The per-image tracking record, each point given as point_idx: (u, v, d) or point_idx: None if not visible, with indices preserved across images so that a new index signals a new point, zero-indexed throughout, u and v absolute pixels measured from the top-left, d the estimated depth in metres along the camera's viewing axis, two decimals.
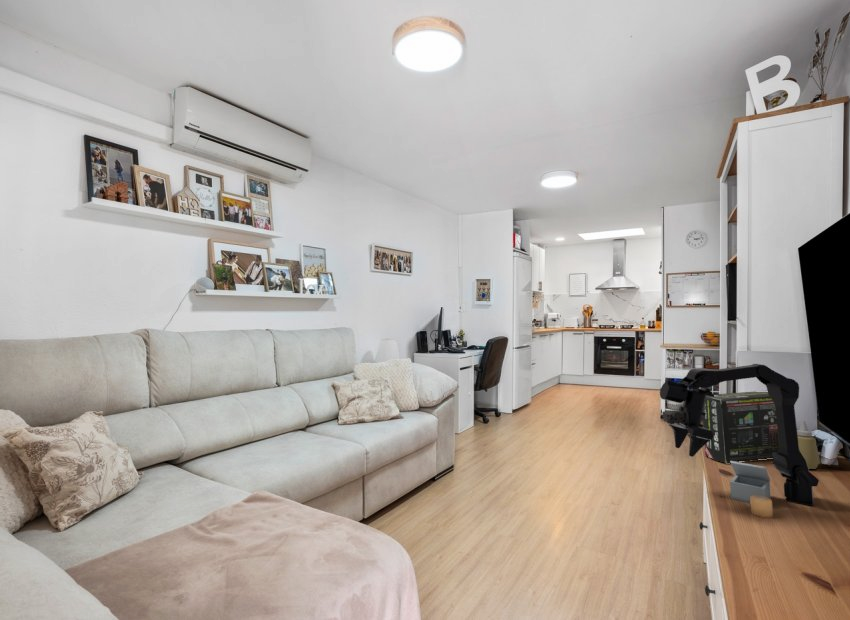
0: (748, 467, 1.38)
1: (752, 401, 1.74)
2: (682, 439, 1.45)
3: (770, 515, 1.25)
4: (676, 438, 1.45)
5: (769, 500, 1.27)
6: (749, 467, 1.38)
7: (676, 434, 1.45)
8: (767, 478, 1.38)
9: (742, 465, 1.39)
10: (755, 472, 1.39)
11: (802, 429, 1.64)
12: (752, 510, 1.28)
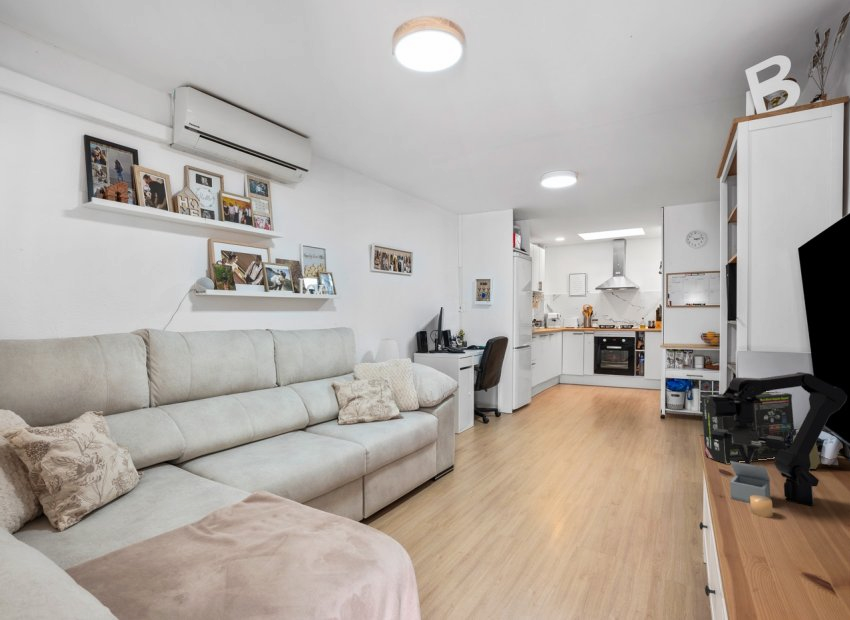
0: (748, 467, 1.38)
1: None
2: None
3: (770, 515, 1.25)
4: (745, 455, 1.38)
5: (769, 500, 1.27)
6: (749, 467, 1.38)
7: (744, 451, 1.38)
8: (767, 478, 1.38)
9: (742, 465, 1.39)
10: (755, 472, 1.39)
11: None
12: (752, 510, 1.28)
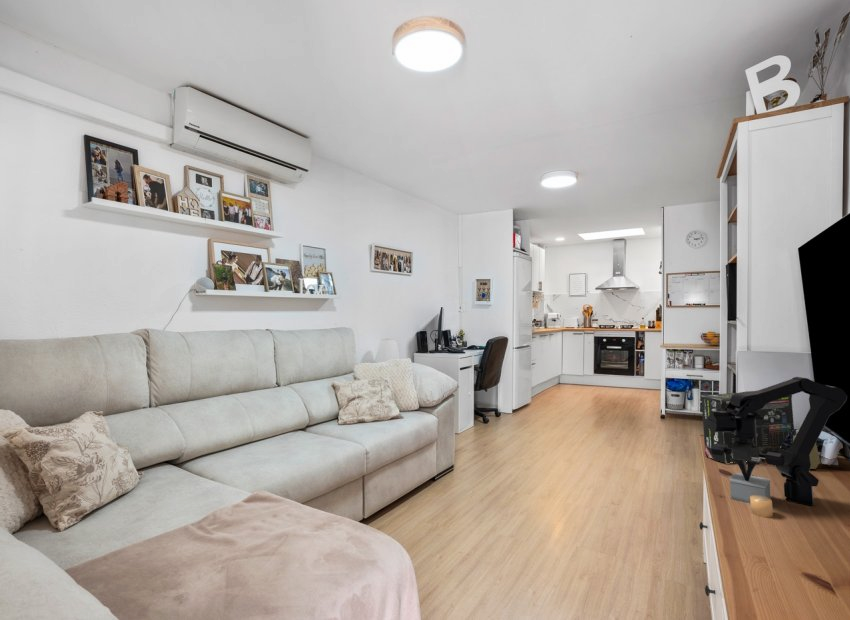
0: None
1: None
2: (746, 469, 1.39)
3: (770, 515, 1.25)
4: (745, 471, 1.38)
5: (769, 500, 1.27)
6: None
7: (744, 467, 1.38)
8: None
9: None
10: None
11: None
12: (752, 510, 1.28)
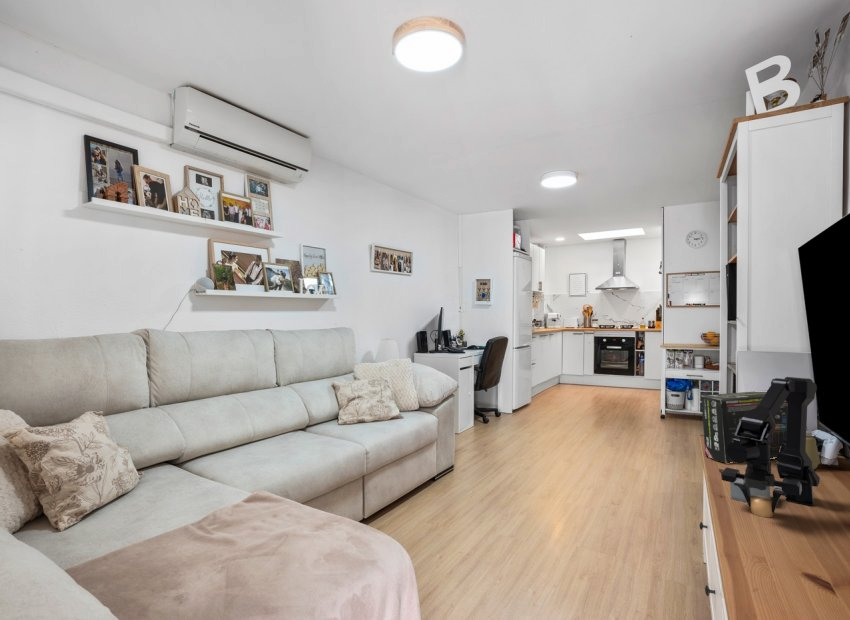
0: None
1: (752, 401, 1.74)
2: (750, 494, 1.31)
3: (770, 515, 1.25)
4: (748, 497, 1.30)
5: (769, 500, 1.27)
6: None
7: (747, 493, 1.30)
8: None
9: None
10: None
11: None
12: (752, 510, 1.28)
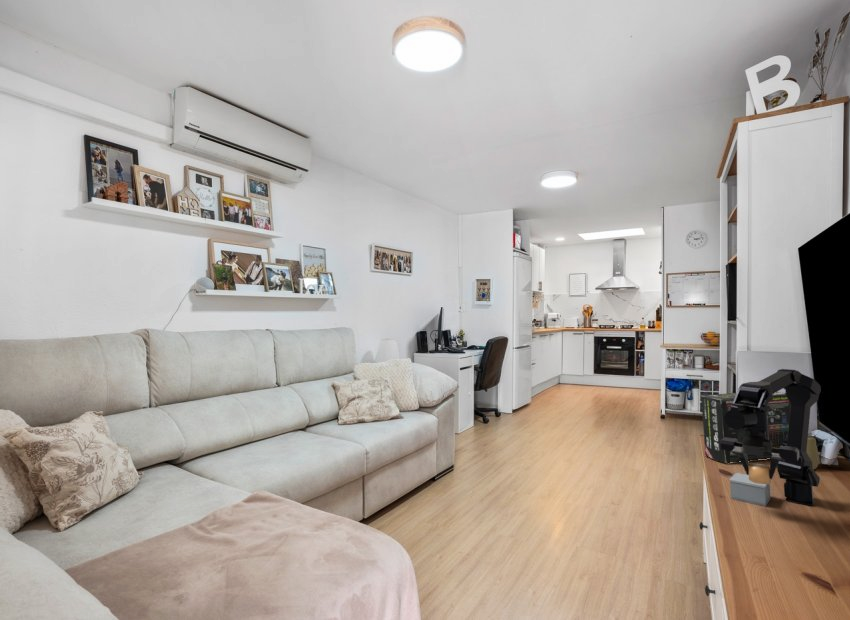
0: None
1: None
2: (748, 463, 1.32)
3: (768, 482, 1.26)
4: (746, 465, 1.30)
5: (766, 467, 1.27)
6: None
7: (745, 460, 1.30)
8: None
9: None
10: None
11: None
12: (750, 477, 1.29)
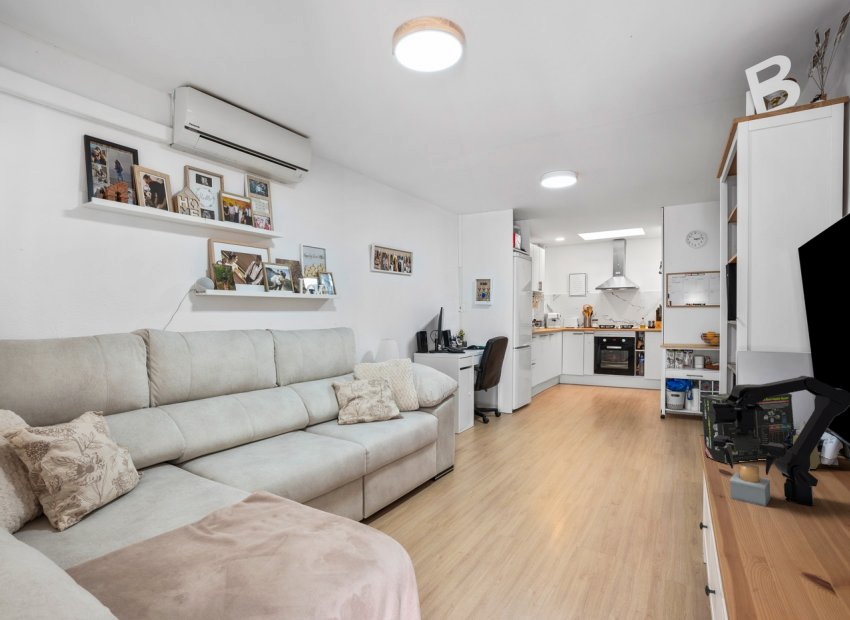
0: None
1: None
2: (732, 457, 1.43)
3: (757, 480, 1.36)
4: (730, 459, 1.42)
5: (756, 467, 1.38)
6: None
7: (730, 455, 1.42)
8: None
9: None
10: None
11: None
12: (741, 476, 1.39)
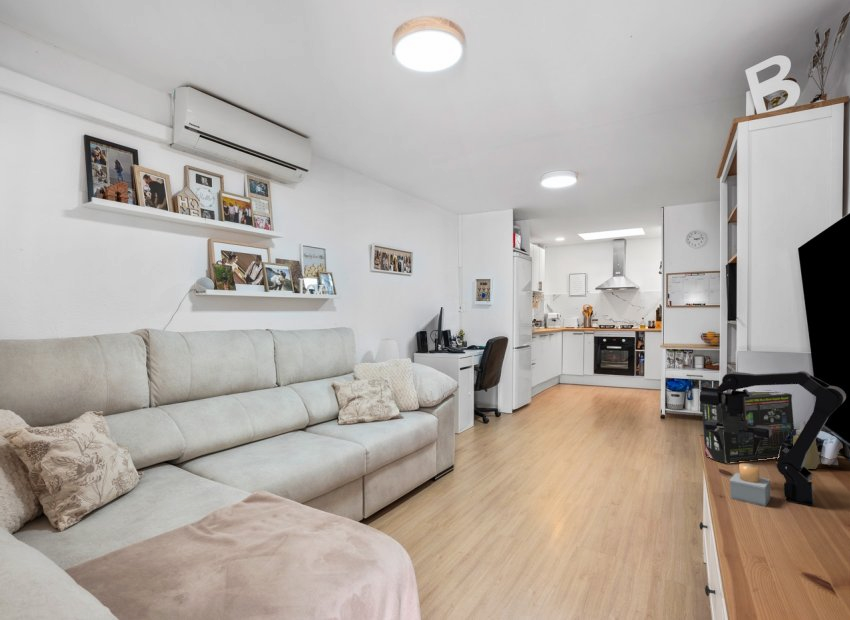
0: None
1: (752, 401, 1.74)
2: (722, 440, 1.53)
3: (757, 480, 1.36)
4: (721, 441, 1.52)
5: (756, 467, 1.38)
6: None
7: (720, 438, 1.52)
8: None
9: None
10: None
11: (802, 429, 1.64)
12: (741, 476, 1.39)
